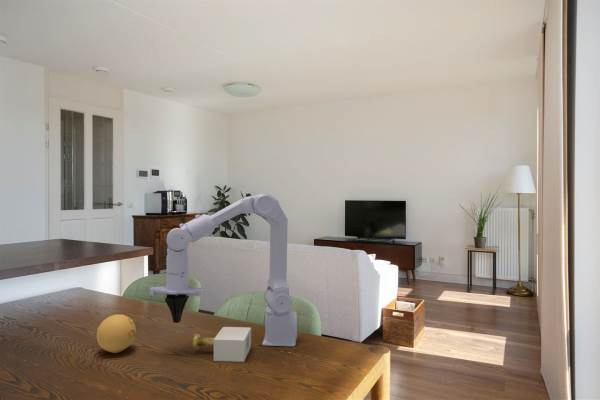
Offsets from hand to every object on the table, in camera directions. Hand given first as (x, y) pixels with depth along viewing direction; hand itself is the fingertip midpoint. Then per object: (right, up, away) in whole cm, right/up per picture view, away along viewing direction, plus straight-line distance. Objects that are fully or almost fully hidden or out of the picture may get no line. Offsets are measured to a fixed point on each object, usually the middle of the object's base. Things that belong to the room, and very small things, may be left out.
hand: (177, 321), depth 111 cm
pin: (+11, -7, 0) cm, 13 cm away
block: (+15, -9, -1) cm, 18 cm away
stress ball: (-17, -8, 0) cm, 19 cm away
